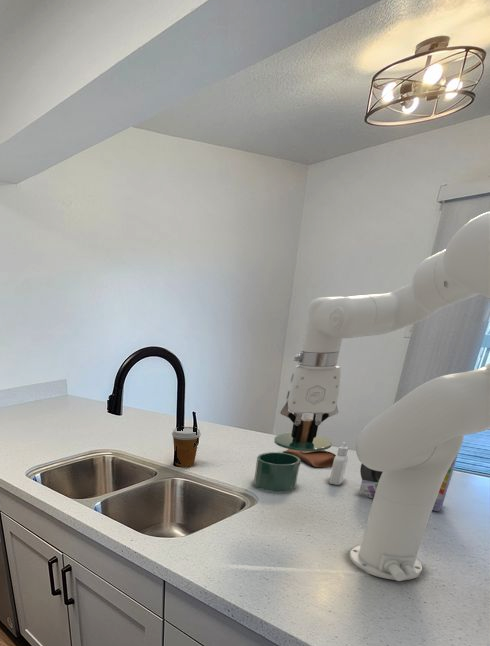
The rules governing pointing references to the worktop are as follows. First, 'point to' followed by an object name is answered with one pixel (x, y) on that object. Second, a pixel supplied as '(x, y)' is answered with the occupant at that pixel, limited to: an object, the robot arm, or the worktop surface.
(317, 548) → the worktop surface
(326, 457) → the sunglasses case
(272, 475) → the canister
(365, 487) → the cake pan box
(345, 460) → the eye dropper bottle
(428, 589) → the worktop surface
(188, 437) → the disposable coffee cup
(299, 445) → the lid
